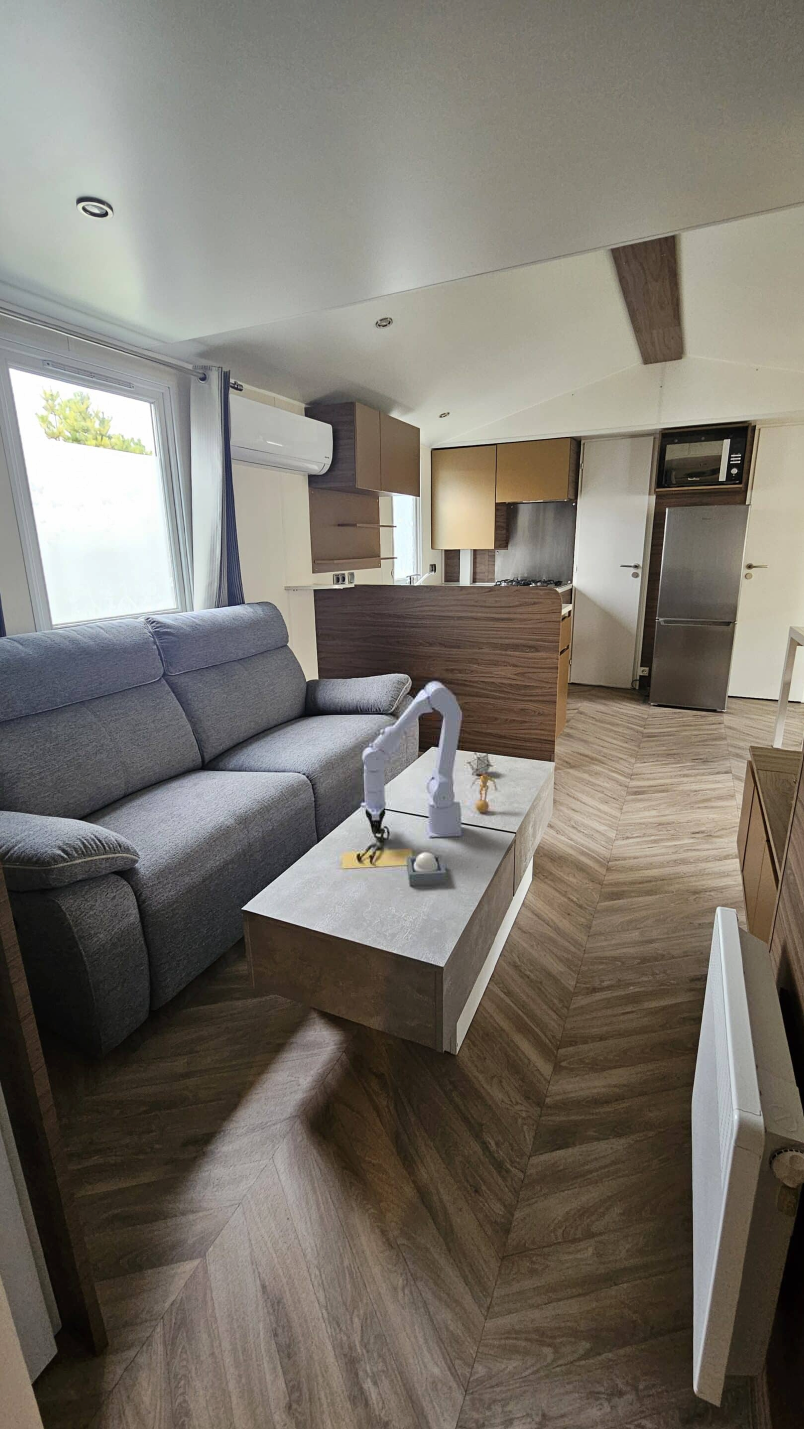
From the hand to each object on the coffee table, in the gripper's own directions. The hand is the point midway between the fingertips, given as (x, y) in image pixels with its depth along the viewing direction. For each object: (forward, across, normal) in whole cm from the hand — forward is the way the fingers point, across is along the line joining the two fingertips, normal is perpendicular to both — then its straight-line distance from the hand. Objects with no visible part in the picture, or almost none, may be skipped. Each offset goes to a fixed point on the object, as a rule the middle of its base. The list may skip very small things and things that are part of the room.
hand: (376, 833), depth 178 cm
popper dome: (0, +23, +12) cm, 26 cm away
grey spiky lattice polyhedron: (+2, -47, +39) cm, 61 cm away
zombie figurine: (+2, +8, 0) cm, 8 cm away
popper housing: (+1, +23, +12) cm, 26 cm away
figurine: (+2, -15, +34) cm, 37 cm away
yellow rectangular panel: (+1, +13, 0) cm, 13 cm away
